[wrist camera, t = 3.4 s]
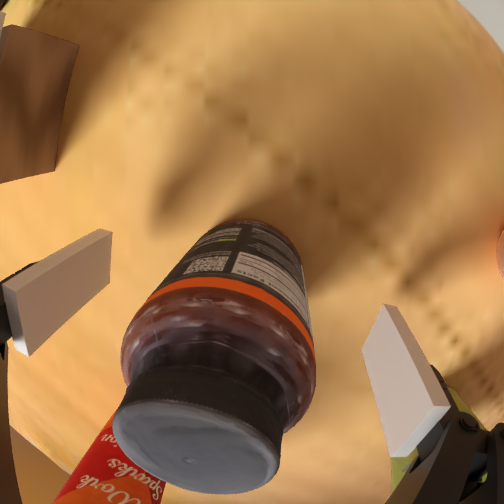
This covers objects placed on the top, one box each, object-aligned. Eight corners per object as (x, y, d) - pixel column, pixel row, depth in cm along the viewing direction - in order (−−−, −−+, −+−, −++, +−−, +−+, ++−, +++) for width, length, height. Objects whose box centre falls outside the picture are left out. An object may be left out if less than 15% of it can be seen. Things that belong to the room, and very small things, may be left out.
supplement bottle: (240, 337, 18) (194, 516, 7) (170, 260, 17) (40, 408, 6) (326, 281, 16) (367, 477, 5) (255, 191, 15) (177, 308, 4)
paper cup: (209, 436, 21) (168, 587, 8) (157, 455, 24) (111, 571, 10) (134, 377, 20) (46, 533, 7) (92, 406, 22) (21, 520, 9)
